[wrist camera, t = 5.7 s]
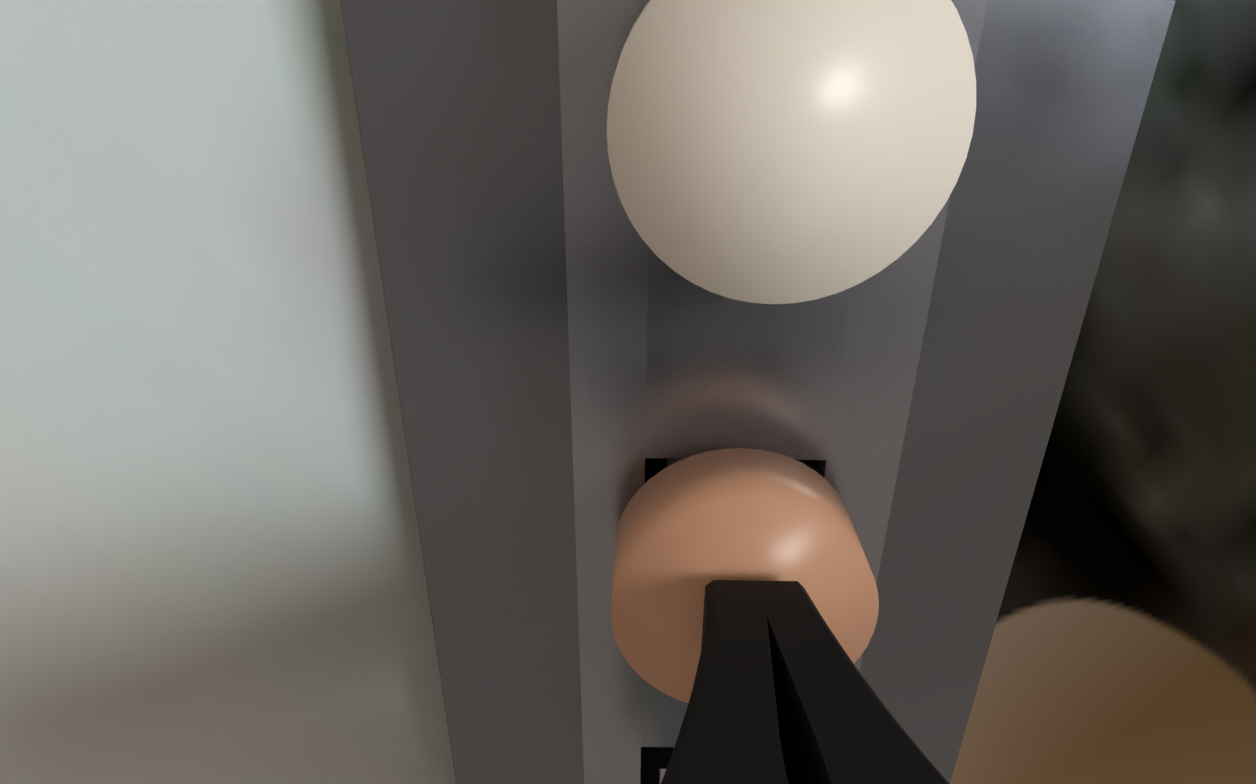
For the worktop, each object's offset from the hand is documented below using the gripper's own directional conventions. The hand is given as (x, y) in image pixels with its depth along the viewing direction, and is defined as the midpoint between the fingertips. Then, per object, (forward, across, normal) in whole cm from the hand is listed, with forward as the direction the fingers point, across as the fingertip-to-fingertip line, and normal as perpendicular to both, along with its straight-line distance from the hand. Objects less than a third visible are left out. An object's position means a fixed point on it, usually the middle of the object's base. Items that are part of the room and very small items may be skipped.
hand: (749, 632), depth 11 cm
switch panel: (+5, 0, 0) cm, 5 cm away
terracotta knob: (+5, 0, 0) cm, 5 cm away
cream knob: (+5, 0, -7) cm, 8 cm away
